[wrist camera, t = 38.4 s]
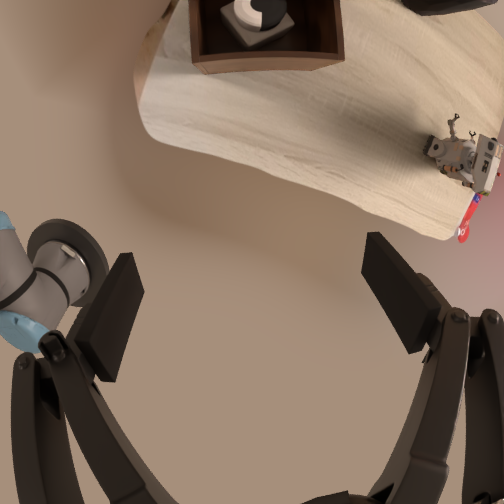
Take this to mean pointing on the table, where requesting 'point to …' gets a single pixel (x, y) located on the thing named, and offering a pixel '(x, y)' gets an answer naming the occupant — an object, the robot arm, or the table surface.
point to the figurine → (467, 159)
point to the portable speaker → (444, 6)
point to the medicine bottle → (256, 21)
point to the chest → (276, 52)
